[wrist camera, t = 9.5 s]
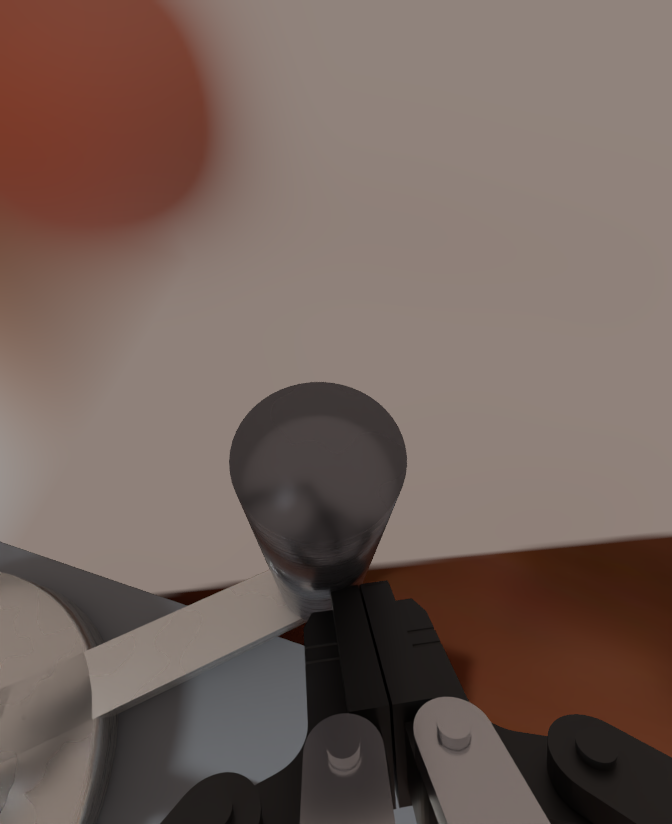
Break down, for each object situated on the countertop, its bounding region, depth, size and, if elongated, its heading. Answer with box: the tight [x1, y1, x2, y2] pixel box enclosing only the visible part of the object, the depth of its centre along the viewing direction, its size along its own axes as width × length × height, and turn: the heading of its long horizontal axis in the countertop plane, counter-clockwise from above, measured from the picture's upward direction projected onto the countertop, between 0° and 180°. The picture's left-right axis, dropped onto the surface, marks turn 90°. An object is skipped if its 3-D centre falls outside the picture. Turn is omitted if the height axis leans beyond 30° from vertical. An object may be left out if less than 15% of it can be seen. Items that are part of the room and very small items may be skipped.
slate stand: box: [0, 542, 417, 824], centre depth 14 cm, size 24×14×2 cm, turn 74°
